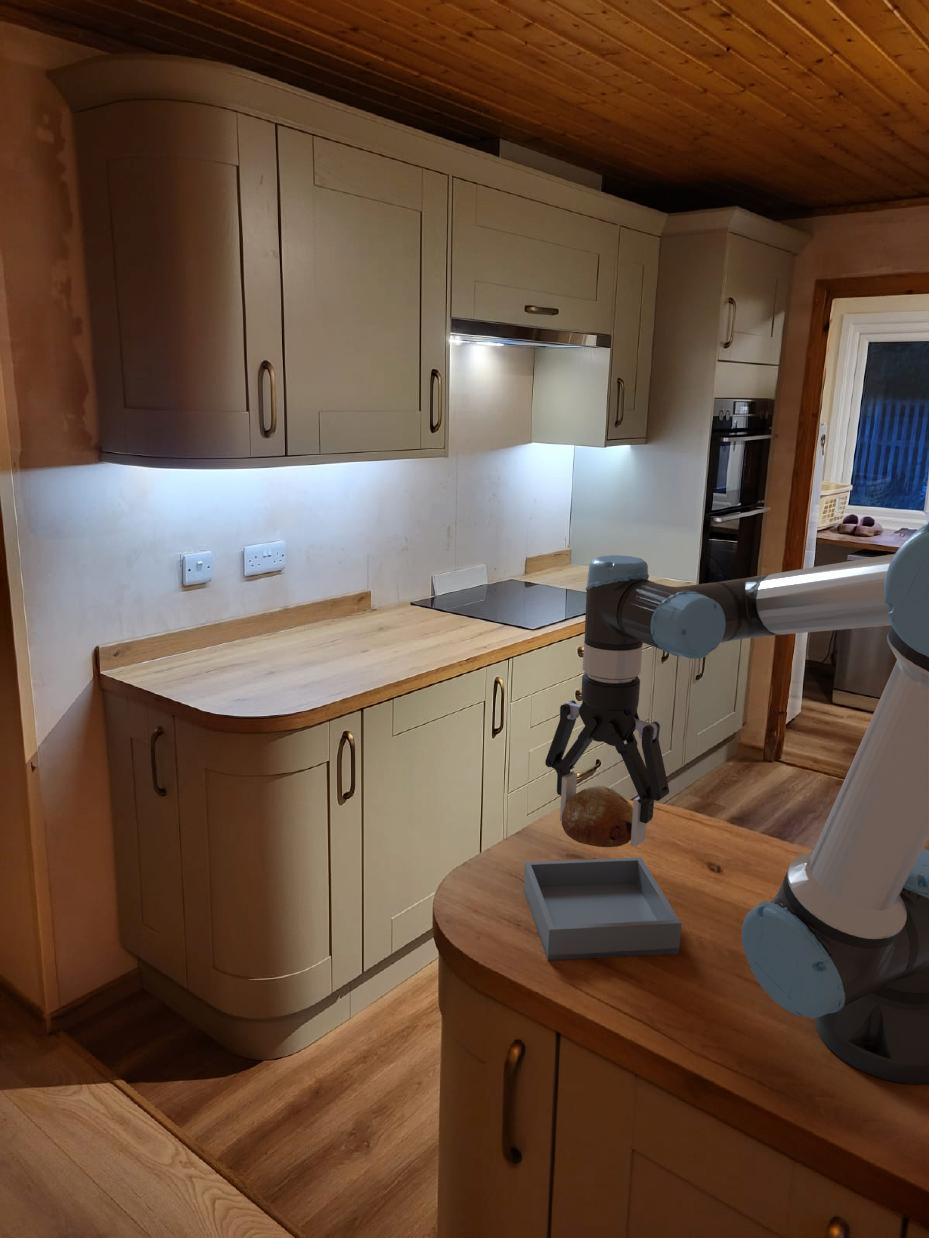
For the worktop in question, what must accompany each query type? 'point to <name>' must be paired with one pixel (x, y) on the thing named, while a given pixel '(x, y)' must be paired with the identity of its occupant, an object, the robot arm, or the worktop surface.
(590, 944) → the bread tray
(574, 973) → the worktop surface
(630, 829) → the bread roll
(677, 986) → the worktop surface
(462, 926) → the worktop surface
